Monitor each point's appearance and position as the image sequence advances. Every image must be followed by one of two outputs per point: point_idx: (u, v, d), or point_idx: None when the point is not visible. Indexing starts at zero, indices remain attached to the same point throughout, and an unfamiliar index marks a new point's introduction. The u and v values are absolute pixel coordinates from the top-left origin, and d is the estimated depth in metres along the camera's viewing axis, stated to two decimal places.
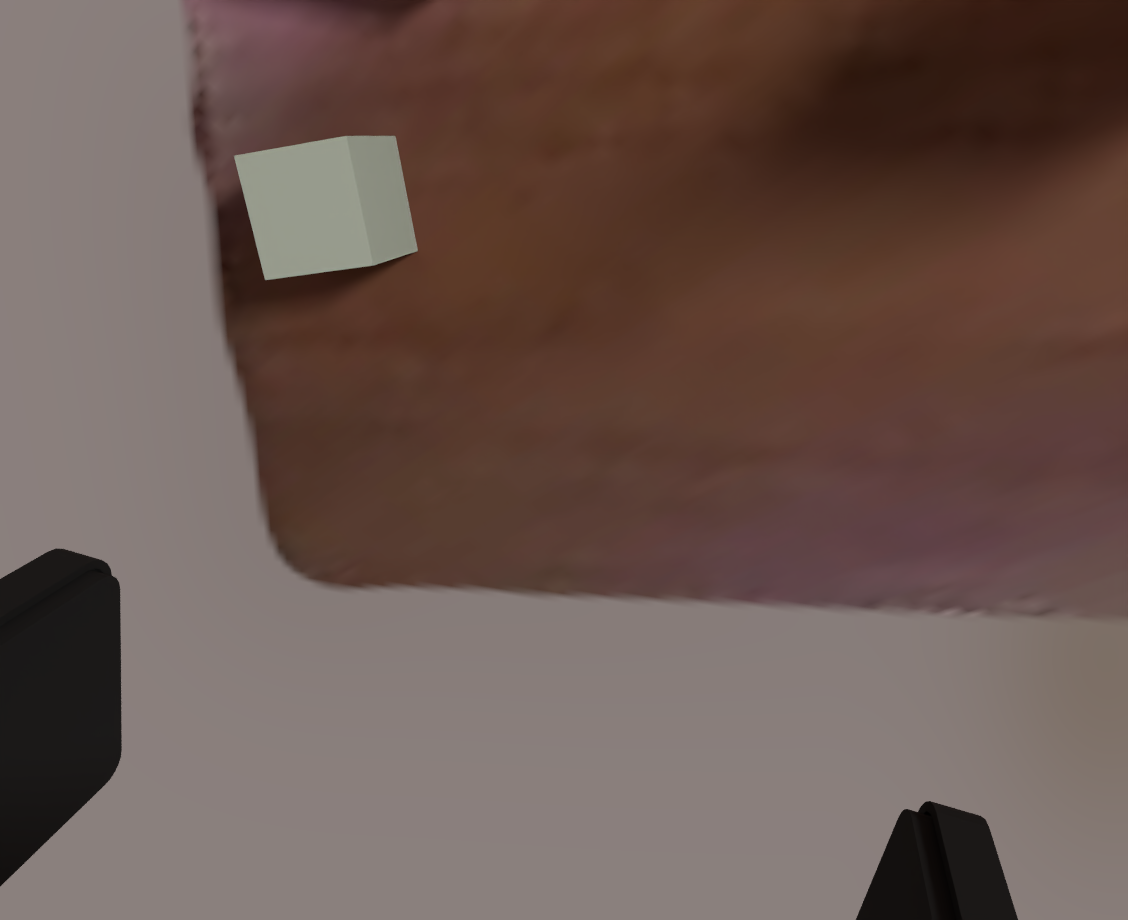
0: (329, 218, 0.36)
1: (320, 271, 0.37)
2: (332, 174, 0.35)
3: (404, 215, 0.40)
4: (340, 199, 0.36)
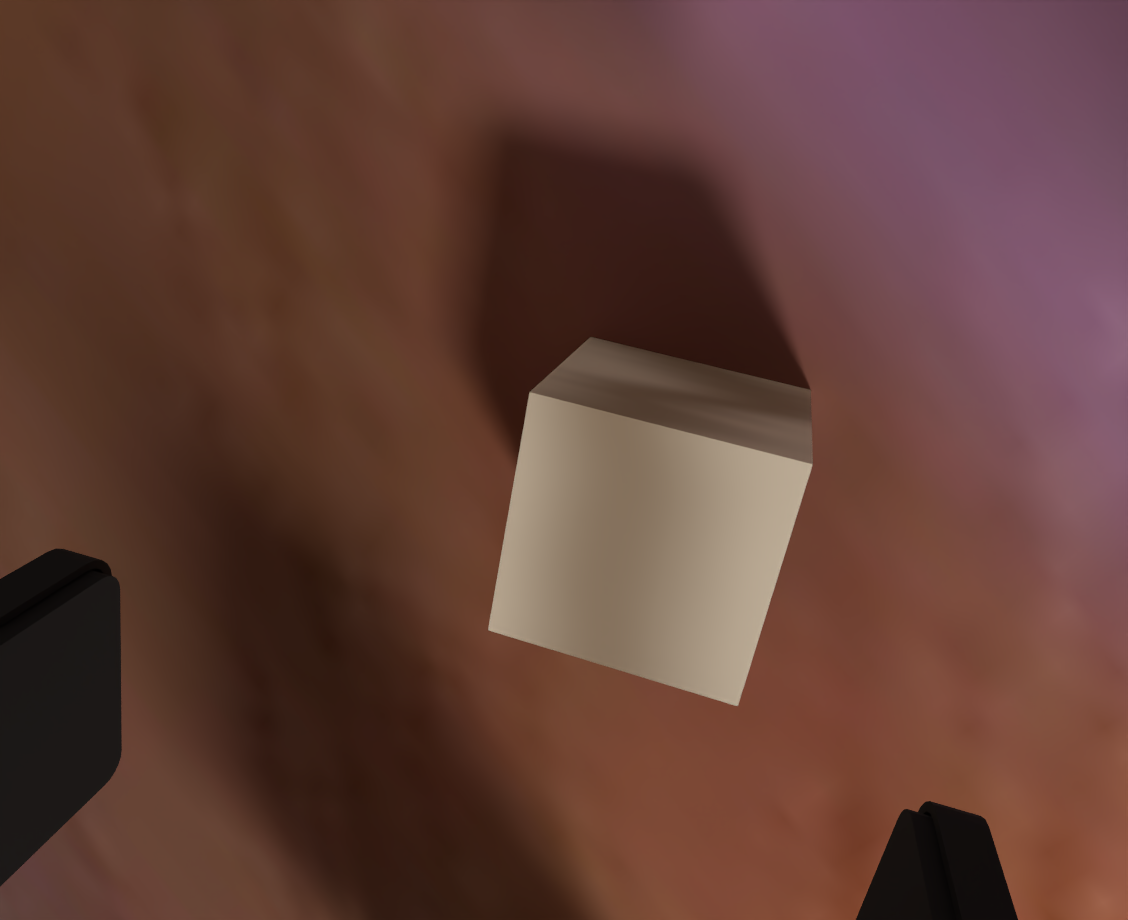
0: None
1: None
2: None
3: None
4: None
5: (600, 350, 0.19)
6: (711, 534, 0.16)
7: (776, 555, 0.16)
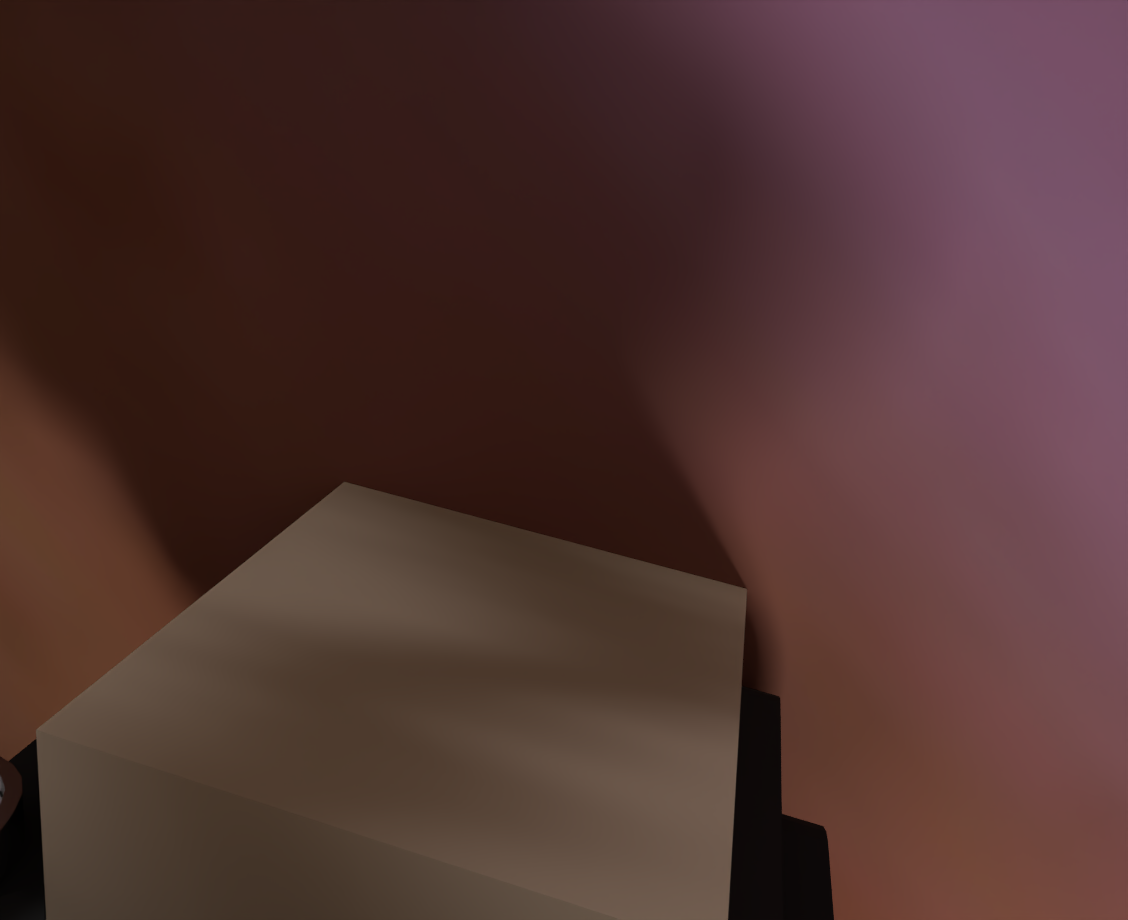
0: None
1: None
2: None
3: None
4: None
5: (340, 524, 0.10)
6: None
7: None
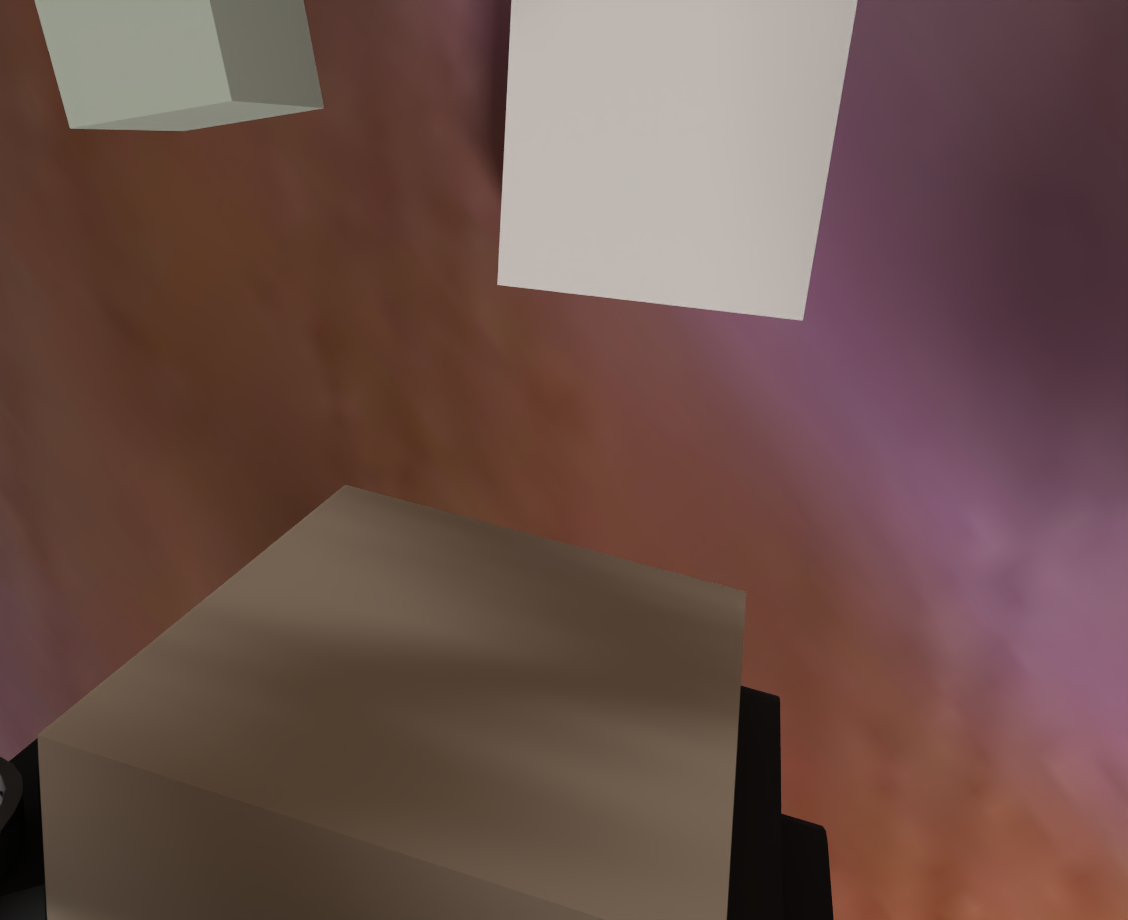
0: (119, 56, 0.23)
1: (44, 31, 0.23)
2: (179, 70, 0.23)
3: (214, 123, 0.27)
4: (147, 81, 0.23)
5: (340, 528, 0.10)
6: None
7: None
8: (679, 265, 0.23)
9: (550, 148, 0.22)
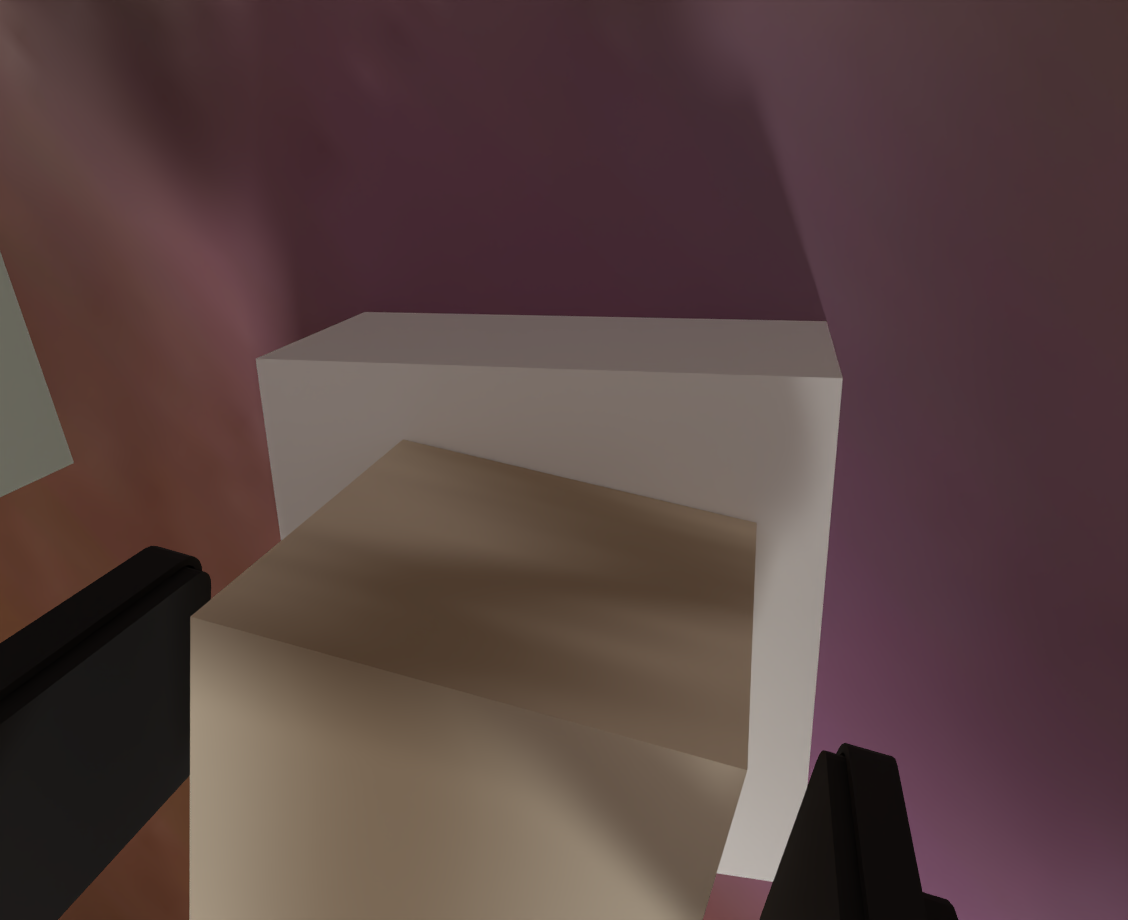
0: None
1: None
2: None
3: None
4: None
5: (404, 472, 0.12)
6: (559, 880, 0.08)
7: None
8: None
9: None
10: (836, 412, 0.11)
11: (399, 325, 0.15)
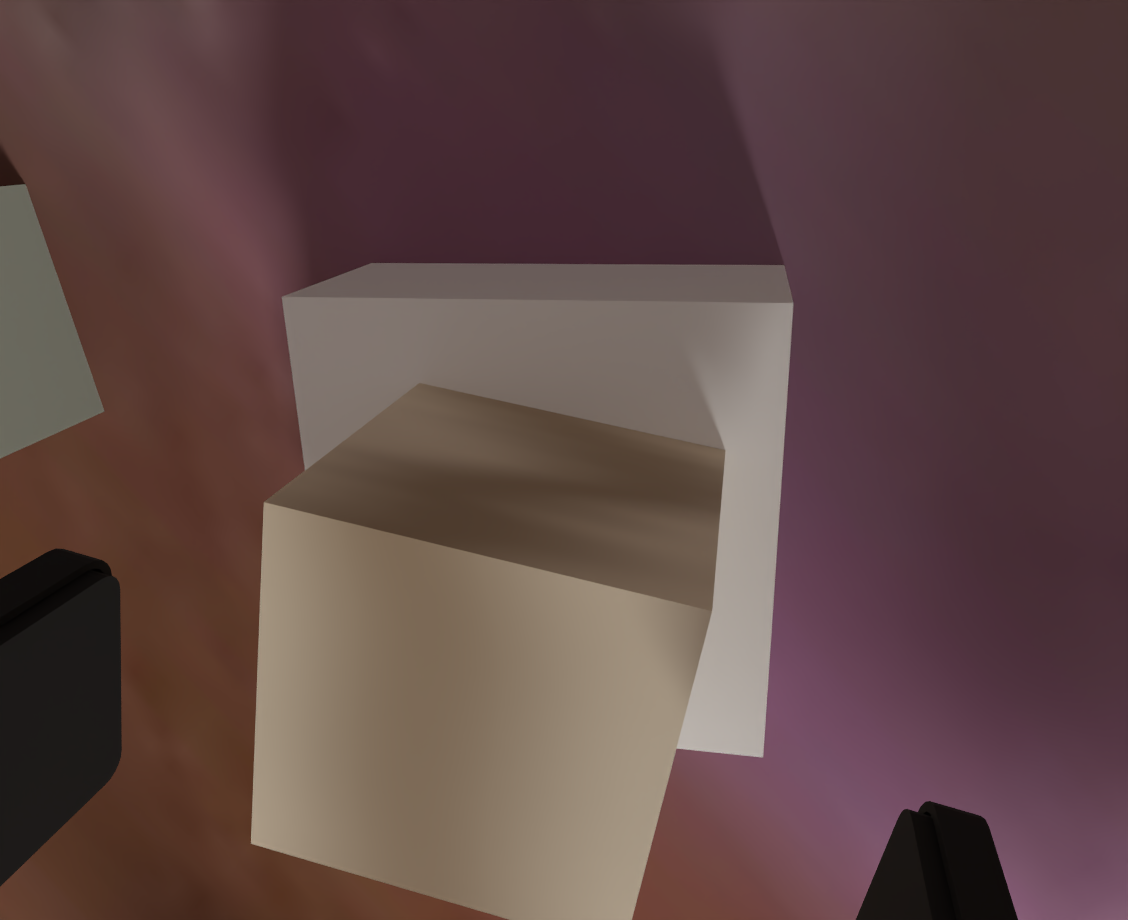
0: None
1: None
2: None
3: None
4: None
5: (423, 407, 0.13)
6: (564, 714, 0.10)
7: (665, 745, 0.10)
8: None
9: None
10: (788, 333, 0.13)
11: (404, 272, 0.16)
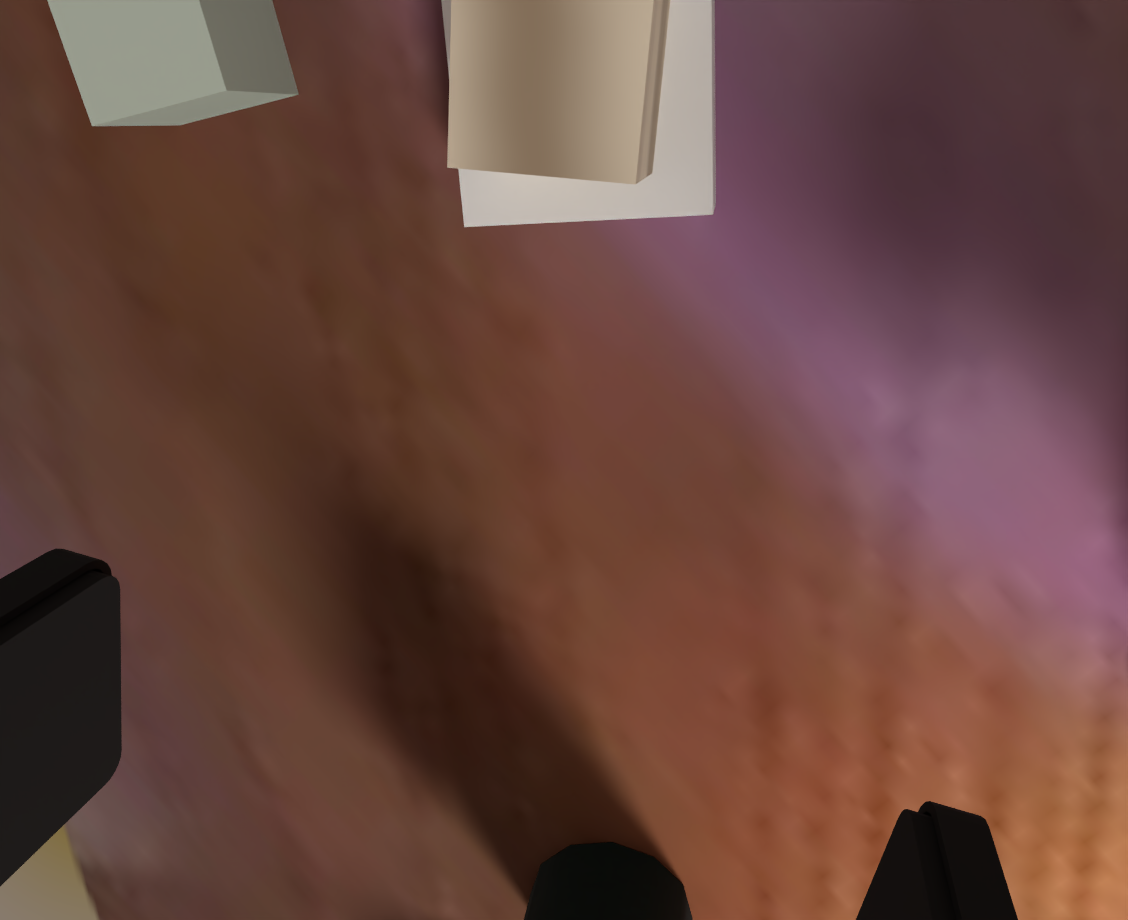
0: (130, 62, 0.28)
1: (65, 46, 0.28)
2: (181, 69, 0.28)
3: (207, 115, 0.32)
4: (155, 80, 0.28)
5: None
6: (596, 40, 0.22)
7: (643, 46, 0.22)
8: (607, 186, 0.28)
9: None
10: None
11: None
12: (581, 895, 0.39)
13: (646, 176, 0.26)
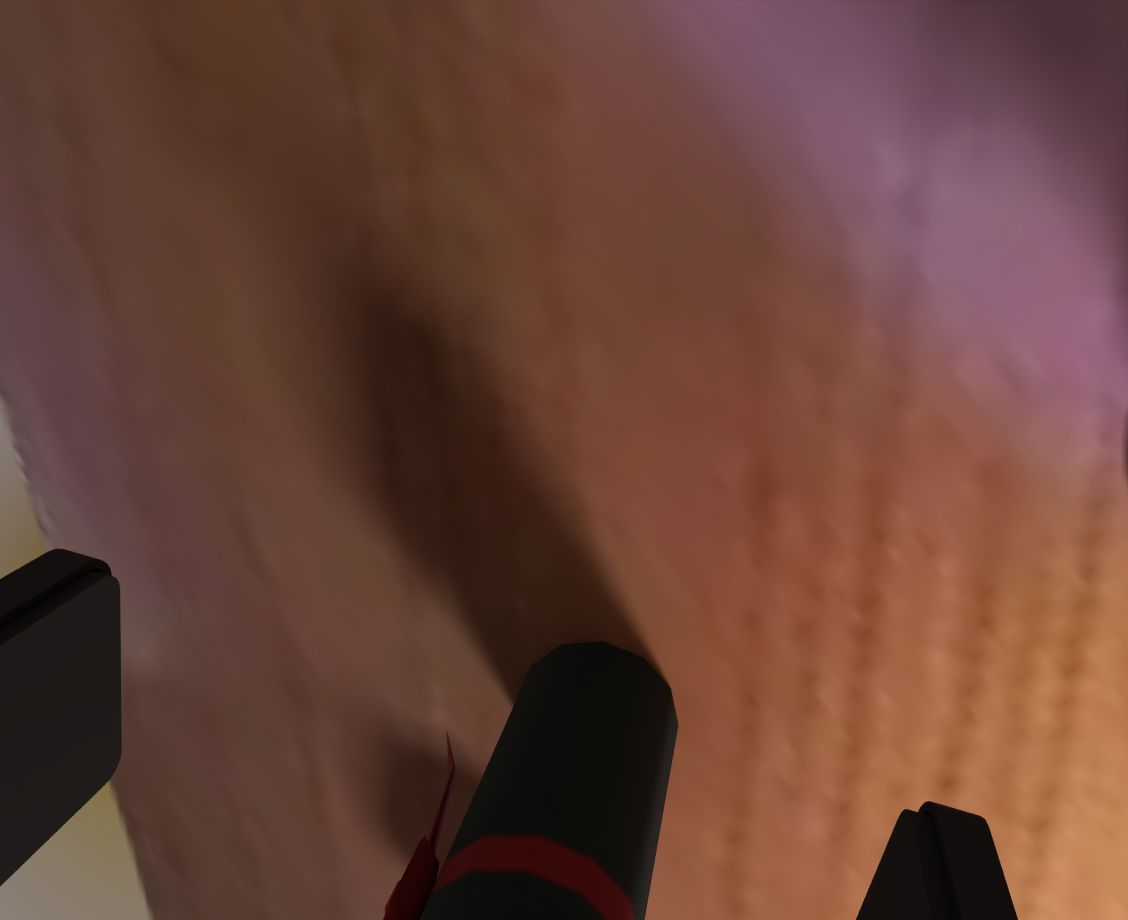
0: None
1: None
2: None
3: None
4: None
5: None
6: None
7: None
8: None
9: None
10: None
11: None
12: (569, 679, 0.40)
13: None
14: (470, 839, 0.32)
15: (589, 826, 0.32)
